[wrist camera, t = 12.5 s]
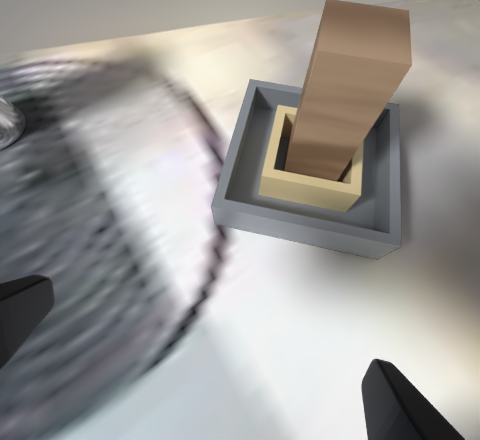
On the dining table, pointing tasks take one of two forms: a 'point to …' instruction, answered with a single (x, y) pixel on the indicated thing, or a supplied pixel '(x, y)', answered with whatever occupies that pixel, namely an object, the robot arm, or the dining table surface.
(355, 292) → the dining table surface
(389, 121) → the housing
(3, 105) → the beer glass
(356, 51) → the post
